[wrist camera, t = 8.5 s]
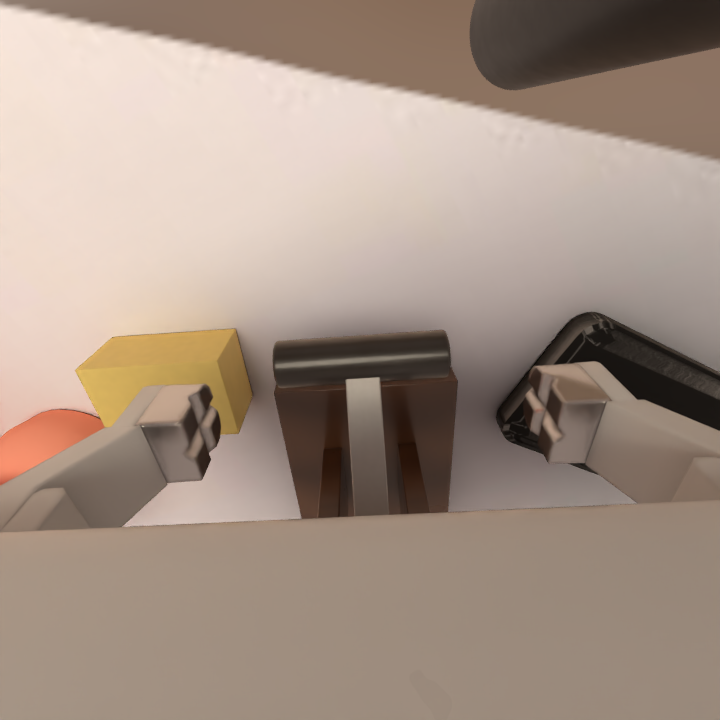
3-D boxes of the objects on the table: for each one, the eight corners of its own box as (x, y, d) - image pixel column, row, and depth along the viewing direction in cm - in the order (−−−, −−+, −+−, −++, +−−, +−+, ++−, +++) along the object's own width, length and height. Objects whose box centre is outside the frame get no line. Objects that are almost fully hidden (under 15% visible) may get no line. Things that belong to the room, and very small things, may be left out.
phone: (595, 314, 17) (812, 422, 21) (582, 304, 18) (792, 408, 22) (492, 437, 21) (692, 511, 24) (486, 423, 22) (679, 497, 25)
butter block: (112, 336, 19) (74, 370, 16) (235, 328, 19) (217, 360, 16) (141, 403, 21) (112, 441, 18) (252, 395, 21) (239, 433, 18)
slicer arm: (284, 342, 14) (266, 339, 12) (437, 331, 14) (452, 327, 12) (311, 732, 14) (299, 808, 12) (463, 724, 14) (482, 800, 12)
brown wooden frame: (277, 378, 20) (173, 734, 8) (452, 366, 20) (597, 714, 8) (308, 526, 26) (274, 851, 15) (442, 518, 26) (517, 841, 14)
